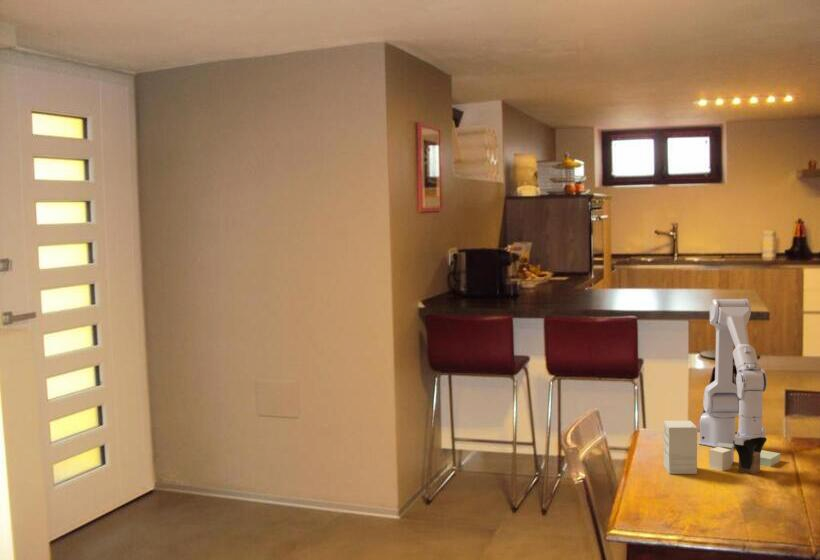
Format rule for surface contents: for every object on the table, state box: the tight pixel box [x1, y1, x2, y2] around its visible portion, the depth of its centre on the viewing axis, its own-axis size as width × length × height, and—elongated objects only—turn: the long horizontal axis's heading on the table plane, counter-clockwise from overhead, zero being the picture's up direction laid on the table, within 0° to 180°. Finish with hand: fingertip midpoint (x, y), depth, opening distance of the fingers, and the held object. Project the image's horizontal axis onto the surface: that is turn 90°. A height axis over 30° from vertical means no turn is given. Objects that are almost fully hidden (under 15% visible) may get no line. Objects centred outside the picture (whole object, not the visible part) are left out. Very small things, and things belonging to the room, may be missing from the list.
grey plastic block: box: [715, 442, 735, 466], centre depth 234 cm, size 4×4×5 cm
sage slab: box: [760, 449, 781, 468], centre depth 235 cm, size 7×7×2 cm
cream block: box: [708, 447, 732, 472], centre depth 230 cm, size 4×4×5 cm
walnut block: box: [738, 452, 761, 476], centre depth 226 cm, size 4×4×5 cm
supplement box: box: [663, 420, 698, 475], centre depth 228 cm, size 7×7×13 cm
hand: (749, 466), depth 227 cm, fingers closed on walnut block, 4 cm apart
